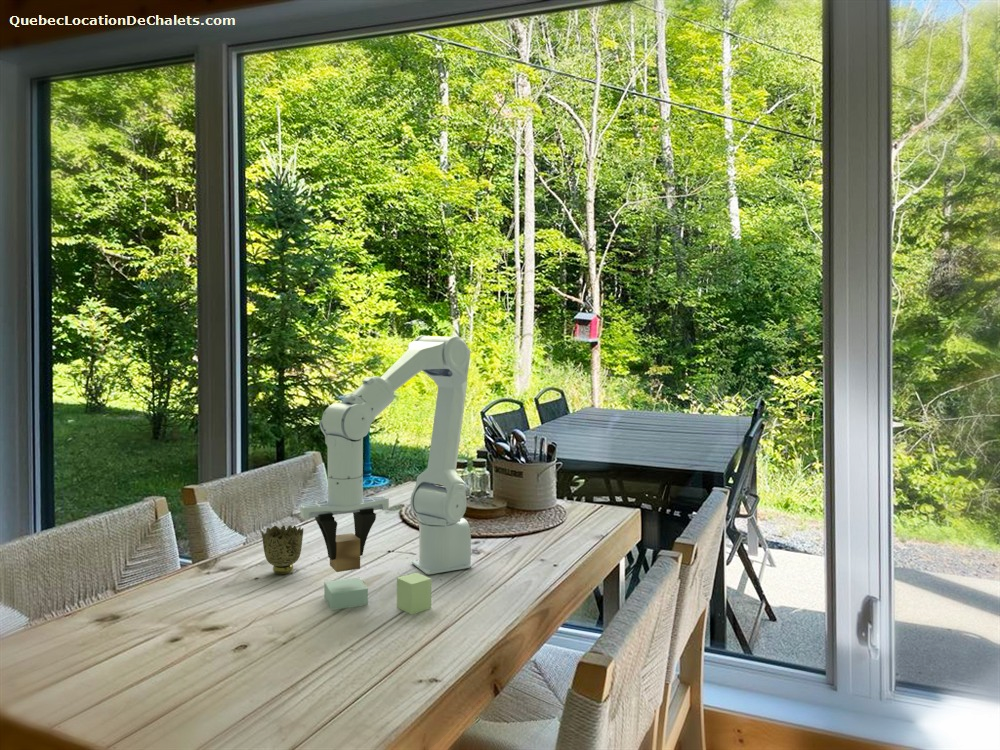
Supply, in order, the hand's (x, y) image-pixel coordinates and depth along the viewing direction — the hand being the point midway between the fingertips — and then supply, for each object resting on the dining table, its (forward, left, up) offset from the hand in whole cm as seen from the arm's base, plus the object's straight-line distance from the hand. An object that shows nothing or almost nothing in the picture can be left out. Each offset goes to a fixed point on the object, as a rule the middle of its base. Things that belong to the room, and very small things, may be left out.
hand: (345, 556), depth 127 cm
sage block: (-9, +8, -8) cm, 14 cm away
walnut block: (0, 0, -2) cm, 2 cm away
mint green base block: (0, 0, -8) cm, 8 cm away
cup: (+6, -19, -8) cm, 21 cm away
